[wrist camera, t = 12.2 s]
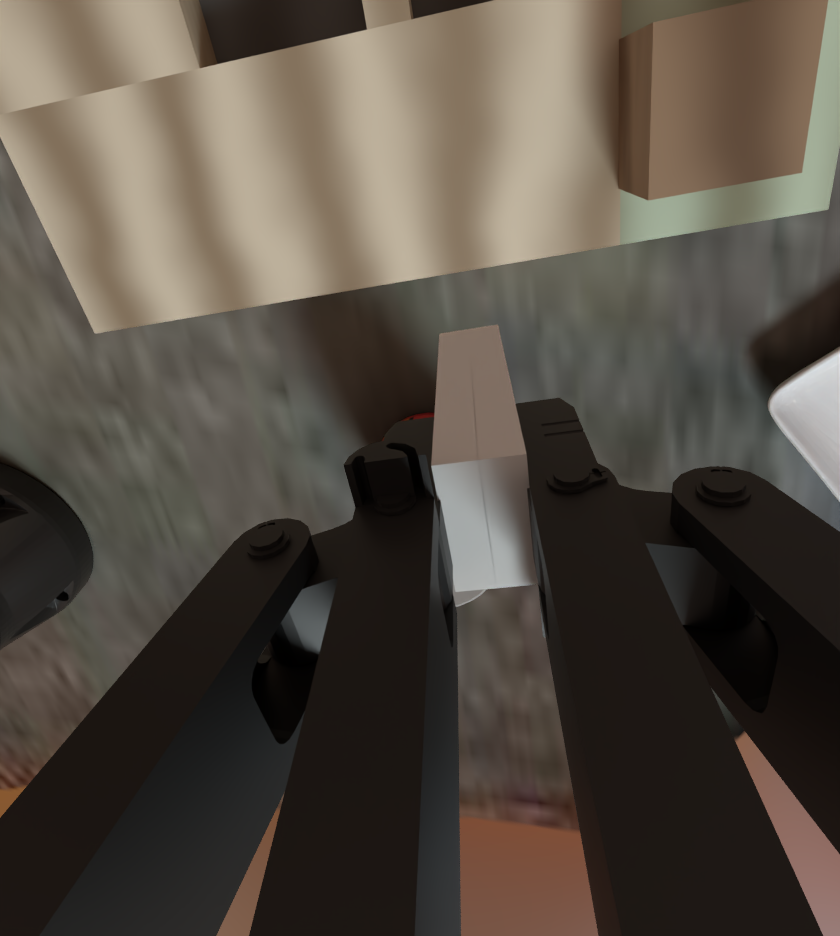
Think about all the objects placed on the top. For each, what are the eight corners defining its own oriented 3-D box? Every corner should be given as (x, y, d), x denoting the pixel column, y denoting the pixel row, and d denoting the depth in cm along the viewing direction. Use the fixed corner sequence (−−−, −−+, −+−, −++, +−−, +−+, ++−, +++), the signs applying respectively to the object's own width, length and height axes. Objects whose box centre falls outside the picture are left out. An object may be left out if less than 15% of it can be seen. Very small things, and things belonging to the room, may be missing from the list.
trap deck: (120, 318, 36) (94, 333, 33) (-103, -176, 25) (-167, -210, 22) (796, 202, 30) (827, 209, 28) (903, -495, 19) (972, -589, 17)
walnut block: (618, 188, 28) (648, 200, 24) (618, 39, 25) (653, 22, 21) (747, 164, 27) (802, 172, 23) (763, 7, 24) (830, -17, 20)
